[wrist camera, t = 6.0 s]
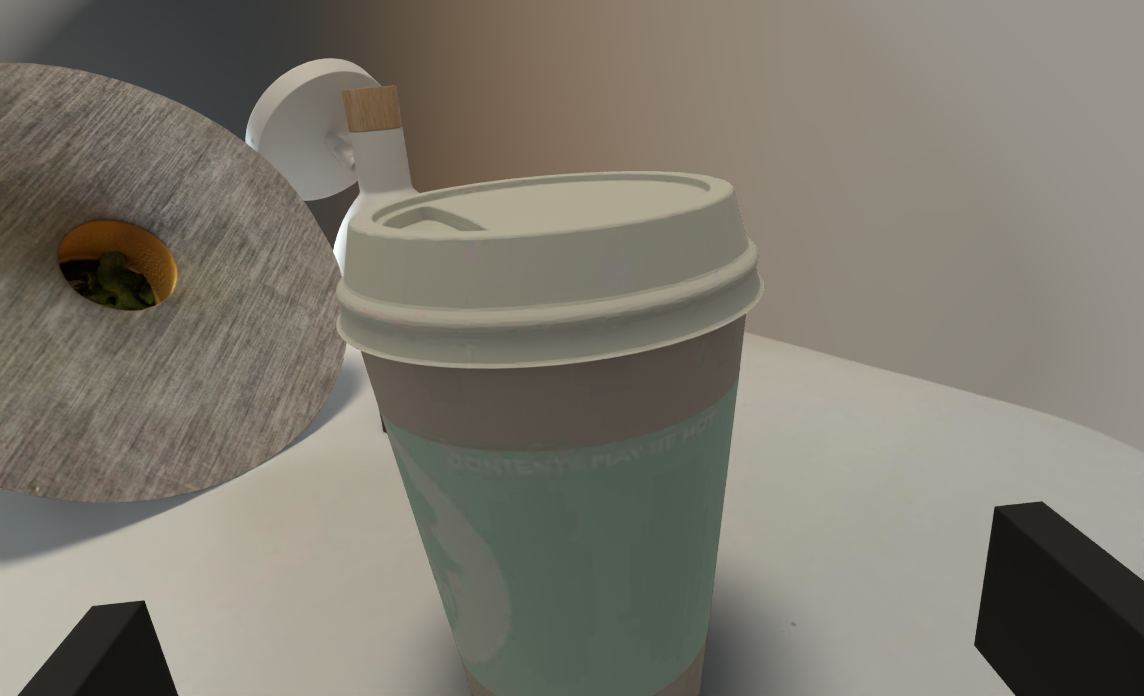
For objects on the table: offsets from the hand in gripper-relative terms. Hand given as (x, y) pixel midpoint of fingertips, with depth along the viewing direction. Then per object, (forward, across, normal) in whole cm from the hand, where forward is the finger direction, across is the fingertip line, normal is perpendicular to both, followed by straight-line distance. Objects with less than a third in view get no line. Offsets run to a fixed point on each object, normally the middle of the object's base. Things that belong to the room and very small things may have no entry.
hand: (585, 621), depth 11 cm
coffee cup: (+9, 0, -10) cm, 13 cm away
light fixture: (+52, -14, -10) cm, 54 cm away
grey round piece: (+31, -24, -10) cm, 40 cm away
